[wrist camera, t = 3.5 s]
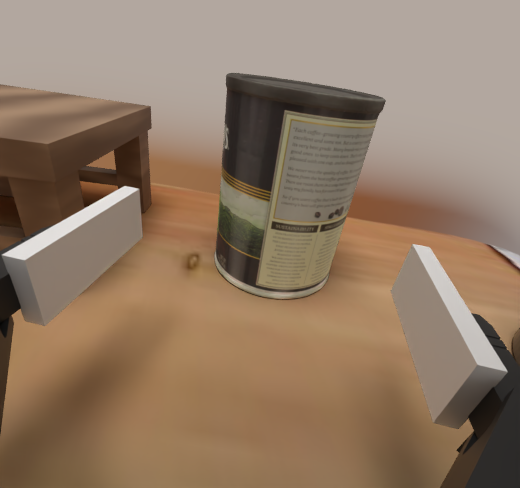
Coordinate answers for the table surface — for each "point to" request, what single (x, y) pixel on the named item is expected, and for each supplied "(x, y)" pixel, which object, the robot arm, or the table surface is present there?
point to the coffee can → (288, 180)
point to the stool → (66, 153)
